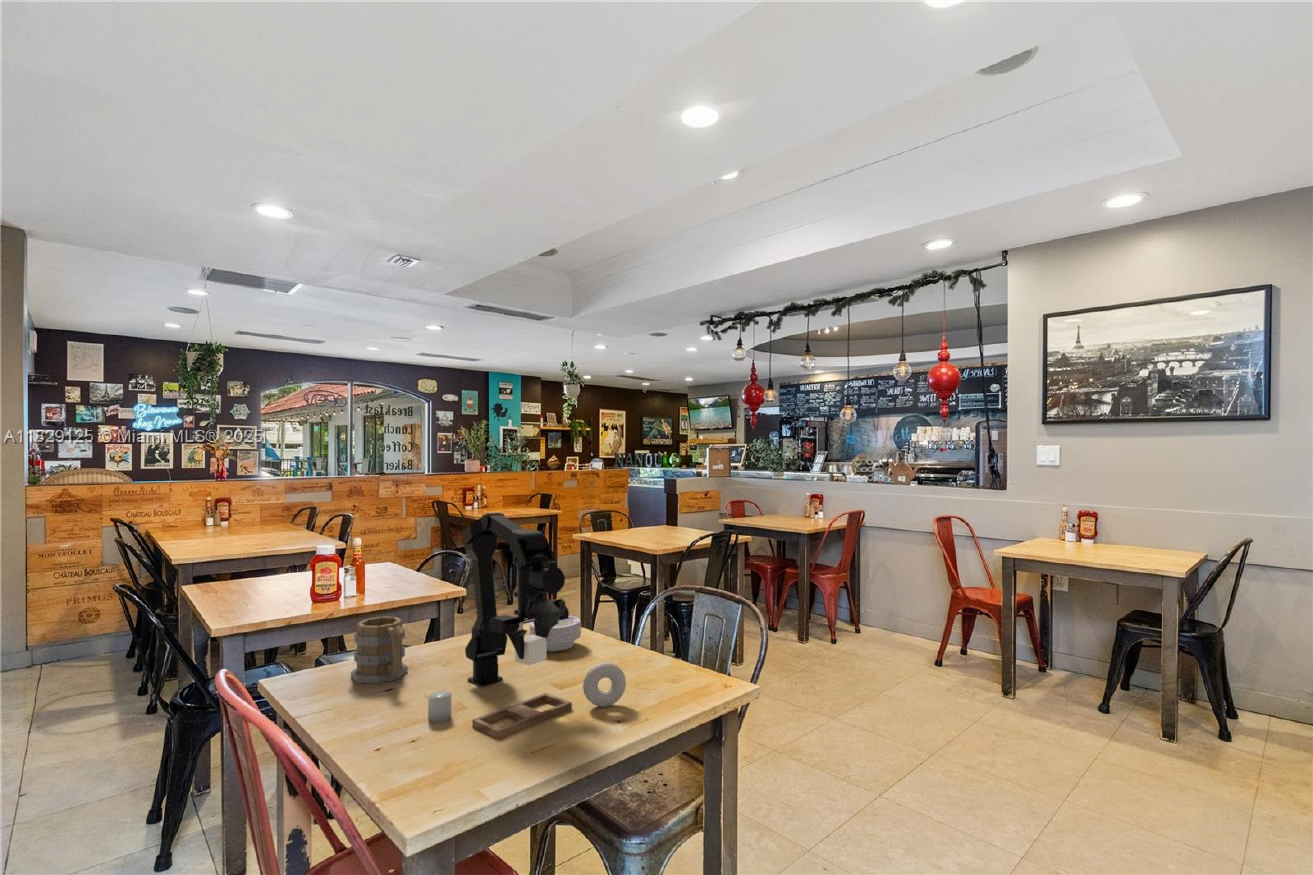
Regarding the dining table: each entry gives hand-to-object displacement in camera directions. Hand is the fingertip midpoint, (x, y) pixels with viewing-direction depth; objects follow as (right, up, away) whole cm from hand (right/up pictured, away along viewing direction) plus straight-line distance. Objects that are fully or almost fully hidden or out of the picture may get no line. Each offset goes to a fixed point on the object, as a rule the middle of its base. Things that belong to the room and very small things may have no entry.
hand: (530, 656), depth 148 cm
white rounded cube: (0, -1, 0) cm, 1 cm away
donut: (+17, -12, 0) cm, 21 cm away
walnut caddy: (0, -11, -6) cm, 13 cm away
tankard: (-41, -12, +18) cm, 47 cm away
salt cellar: (-19, -12, -6) cm, 23 cm away
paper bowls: (-1, -13, +45) cm, 47 cm away
